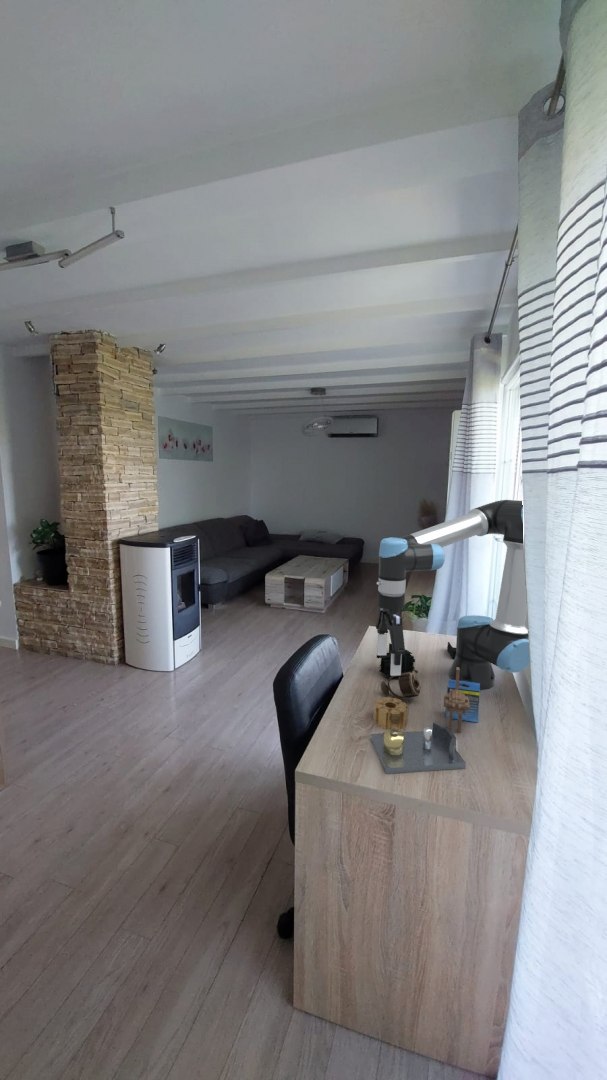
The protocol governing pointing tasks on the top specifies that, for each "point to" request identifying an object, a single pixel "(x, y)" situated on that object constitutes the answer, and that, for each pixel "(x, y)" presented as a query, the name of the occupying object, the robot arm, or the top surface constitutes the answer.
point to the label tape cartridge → (473, 696)
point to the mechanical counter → (404, 685)
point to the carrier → (418, 750)
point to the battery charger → (451, 651)
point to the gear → (390, 713)
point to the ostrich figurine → (456, 703)
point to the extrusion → (406, 662)
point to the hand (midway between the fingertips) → (388, 664)
